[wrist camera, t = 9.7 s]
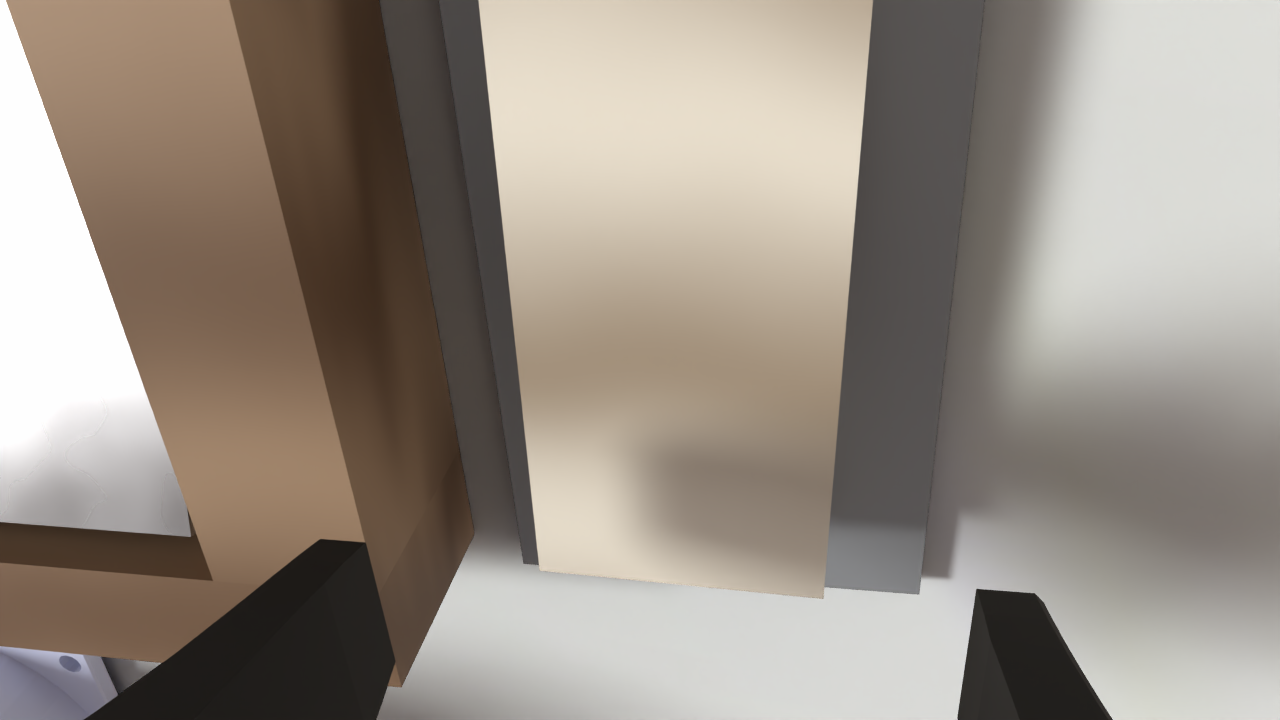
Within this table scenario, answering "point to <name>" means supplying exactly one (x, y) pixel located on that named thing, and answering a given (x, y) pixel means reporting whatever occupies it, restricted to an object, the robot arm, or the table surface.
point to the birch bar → (680, 276)
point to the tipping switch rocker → (65, 348)
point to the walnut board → (247, 316)
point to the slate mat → (878, 291)
